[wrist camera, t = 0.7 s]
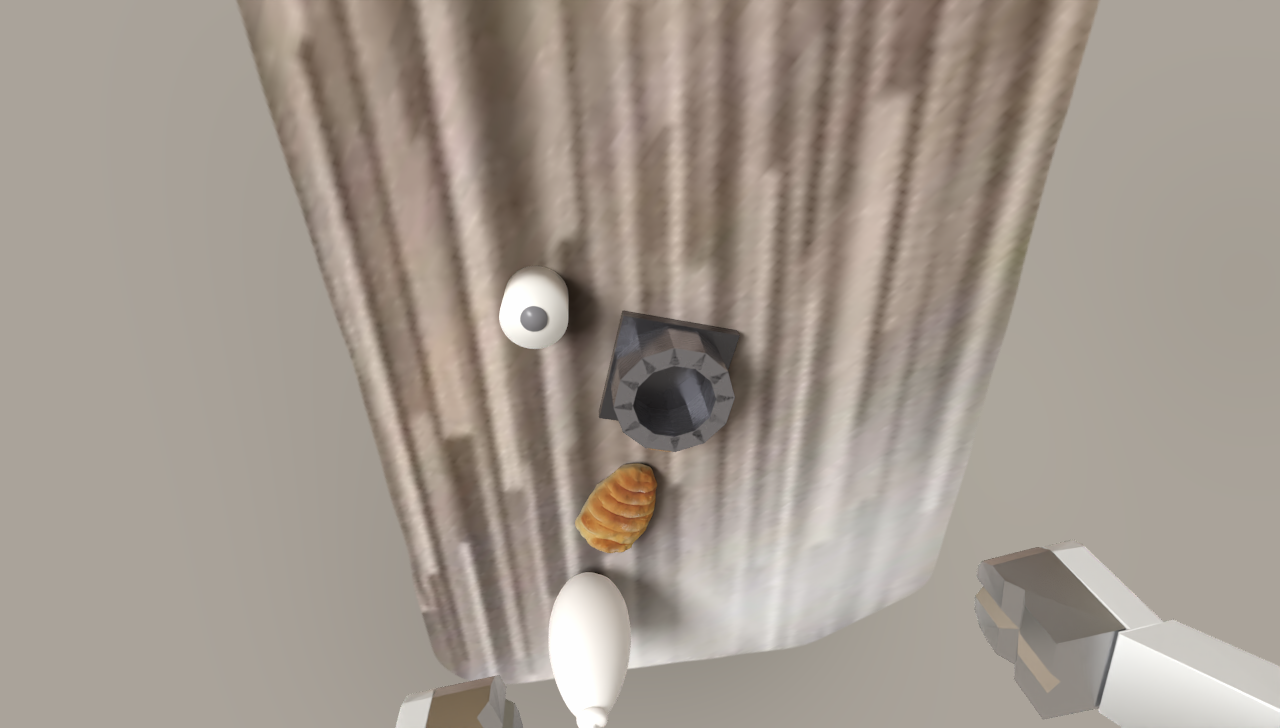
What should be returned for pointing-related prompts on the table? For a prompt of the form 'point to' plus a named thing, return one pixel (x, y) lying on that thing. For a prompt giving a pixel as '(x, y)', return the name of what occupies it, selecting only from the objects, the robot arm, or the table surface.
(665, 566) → the table surface
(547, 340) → the cylinder with grey knob
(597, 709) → the white air blower bulb
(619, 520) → the pastry
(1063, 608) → the robot arm
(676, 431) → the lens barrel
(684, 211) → the table surface
